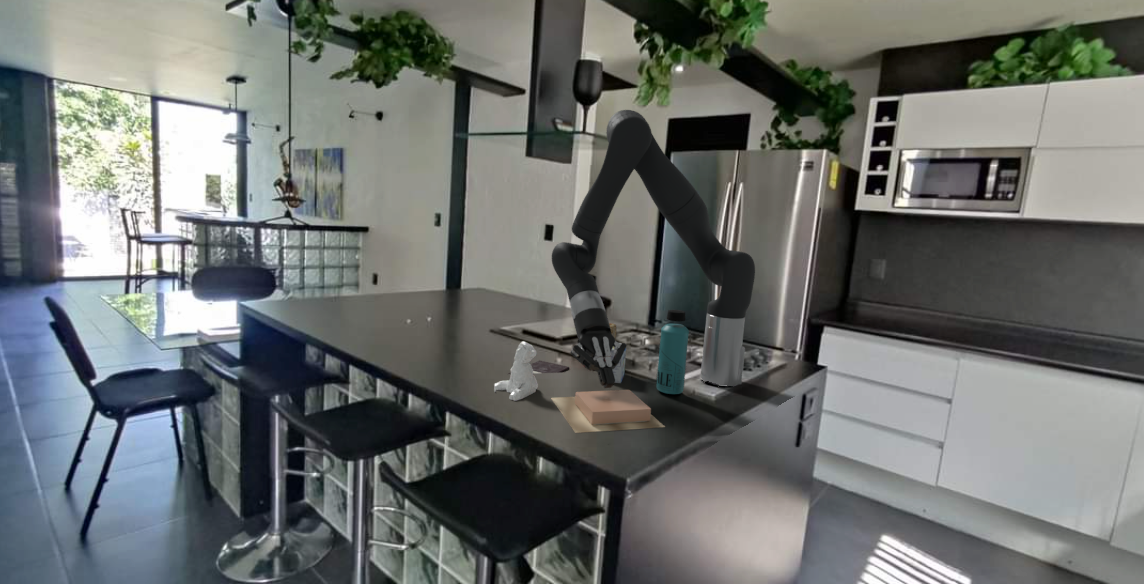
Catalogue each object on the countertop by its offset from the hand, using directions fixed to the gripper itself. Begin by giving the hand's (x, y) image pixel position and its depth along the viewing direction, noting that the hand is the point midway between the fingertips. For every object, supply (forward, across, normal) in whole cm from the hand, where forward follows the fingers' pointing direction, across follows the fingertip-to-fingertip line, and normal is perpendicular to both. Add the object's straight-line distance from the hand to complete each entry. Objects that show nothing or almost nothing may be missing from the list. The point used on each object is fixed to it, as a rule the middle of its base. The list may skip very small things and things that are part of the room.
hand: (609, 386), depth 109 cm
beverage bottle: (0, -18, -8) cm, 20 cm away
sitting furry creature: (-5, +15, -13) cm, 21 cm away
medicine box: (-9, -10, -17) cm, 21 cm away
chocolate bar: (-14, +7, -23) cm, 28 cm away
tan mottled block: (-22, -17, -30) cm, 40 cm away
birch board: (+5, +2, -2) cm, 6 cm away
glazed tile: (0, 0, -4) cm, 4 cm away
